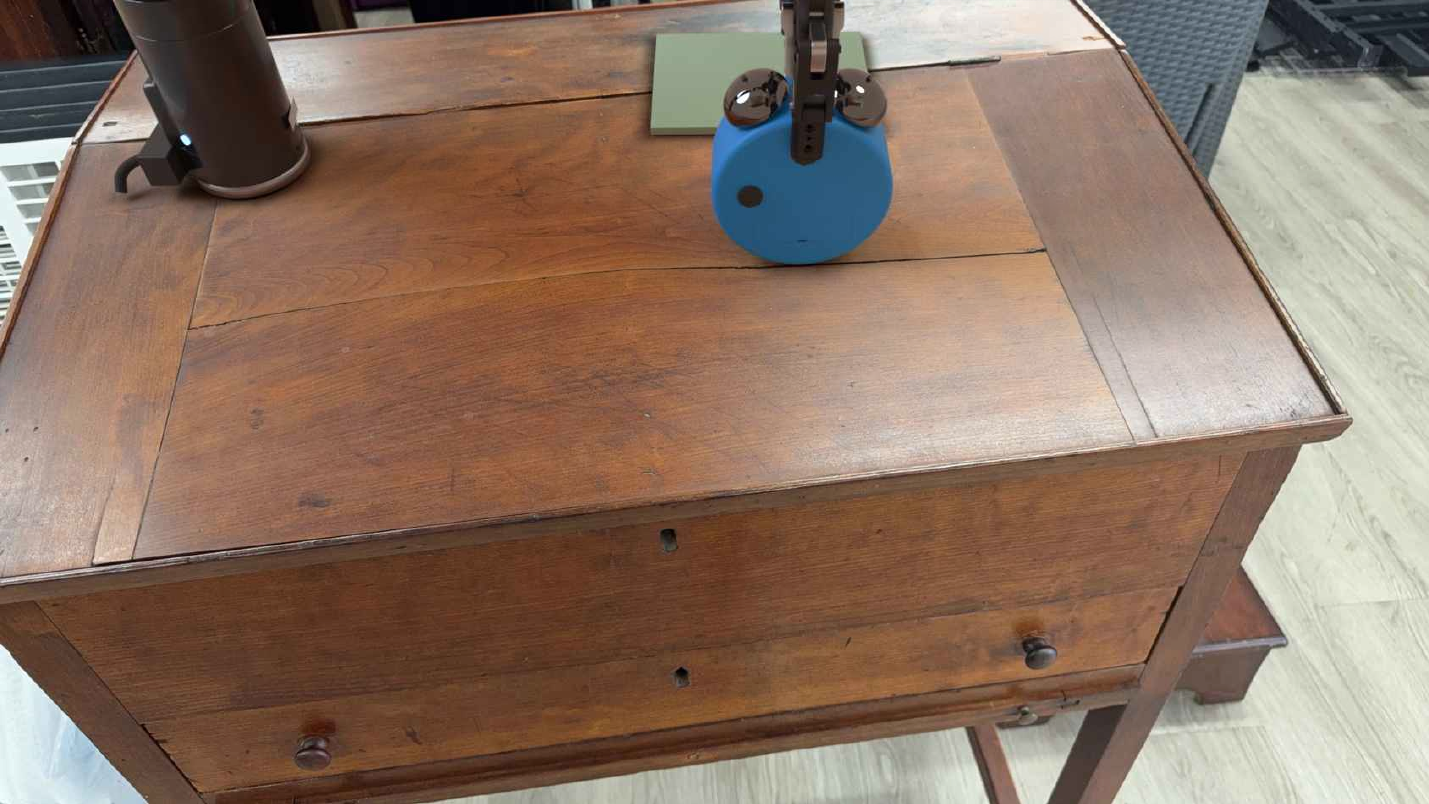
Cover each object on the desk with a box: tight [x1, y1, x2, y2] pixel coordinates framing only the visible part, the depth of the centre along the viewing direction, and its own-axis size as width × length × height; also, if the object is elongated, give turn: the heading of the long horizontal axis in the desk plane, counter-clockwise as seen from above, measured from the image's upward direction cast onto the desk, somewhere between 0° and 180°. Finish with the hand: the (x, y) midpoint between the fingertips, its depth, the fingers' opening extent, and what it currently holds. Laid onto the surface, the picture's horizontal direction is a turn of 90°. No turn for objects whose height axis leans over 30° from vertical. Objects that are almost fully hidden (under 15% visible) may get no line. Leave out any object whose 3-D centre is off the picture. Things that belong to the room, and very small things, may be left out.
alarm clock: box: [710, 68, 894, 265], centre depth 75 cm, size 13×6×15 cm, turn 89°
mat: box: [650, 31, 869, 136], centre depth 95 cm, size 20×16×1 cm
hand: (803, 128), depth 73 cm, fingers closed on alarm clock, 6 cm apart
